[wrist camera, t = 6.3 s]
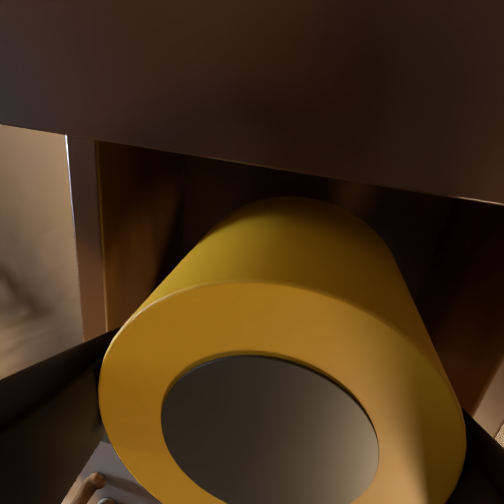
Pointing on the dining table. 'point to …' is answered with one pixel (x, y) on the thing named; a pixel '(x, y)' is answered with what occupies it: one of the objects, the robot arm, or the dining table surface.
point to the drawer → (298, 185)
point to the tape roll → (283, 371)
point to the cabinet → (272, 84)
